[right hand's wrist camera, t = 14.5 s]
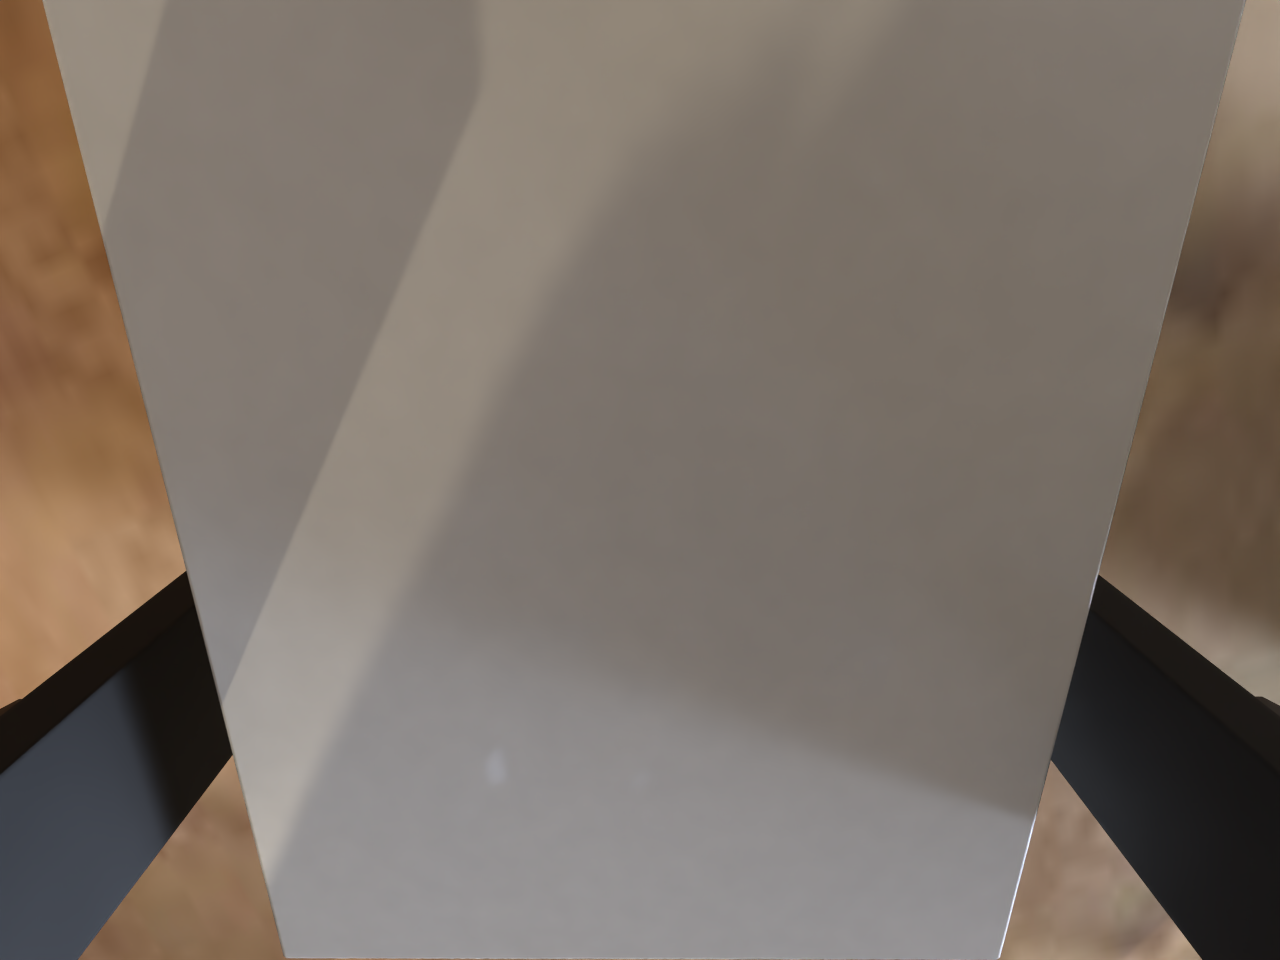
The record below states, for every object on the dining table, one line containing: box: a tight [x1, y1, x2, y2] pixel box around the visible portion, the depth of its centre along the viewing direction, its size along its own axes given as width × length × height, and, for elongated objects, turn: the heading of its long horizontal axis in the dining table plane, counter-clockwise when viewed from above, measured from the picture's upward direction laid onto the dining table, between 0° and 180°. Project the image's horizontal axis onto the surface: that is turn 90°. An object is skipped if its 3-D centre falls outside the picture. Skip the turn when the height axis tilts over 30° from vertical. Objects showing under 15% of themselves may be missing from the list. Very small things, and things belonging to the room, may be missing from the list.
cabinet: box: [42, 0, 1246, 959], centre depth 12 cm, size 18×10×10 cm, turn 0°
